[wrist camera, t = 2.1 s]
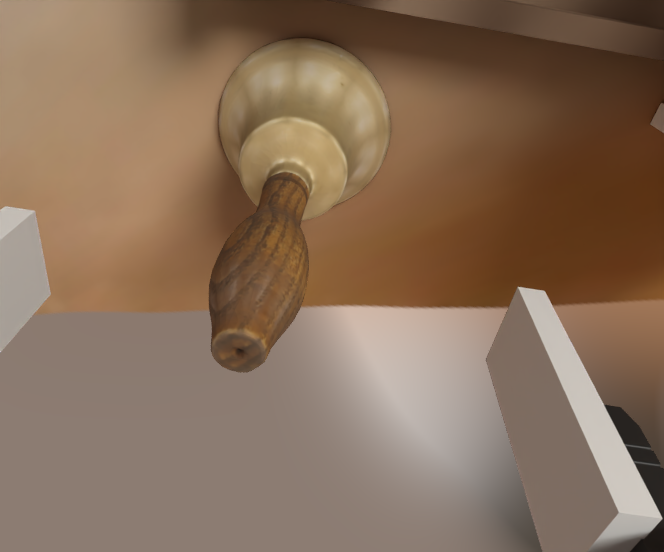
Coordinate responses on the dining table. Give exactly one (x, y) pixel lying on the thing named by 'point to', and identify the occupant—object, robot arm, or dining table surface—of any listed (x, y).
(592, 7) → the tray
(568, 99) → the dining table surface
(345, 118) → the hand bell
